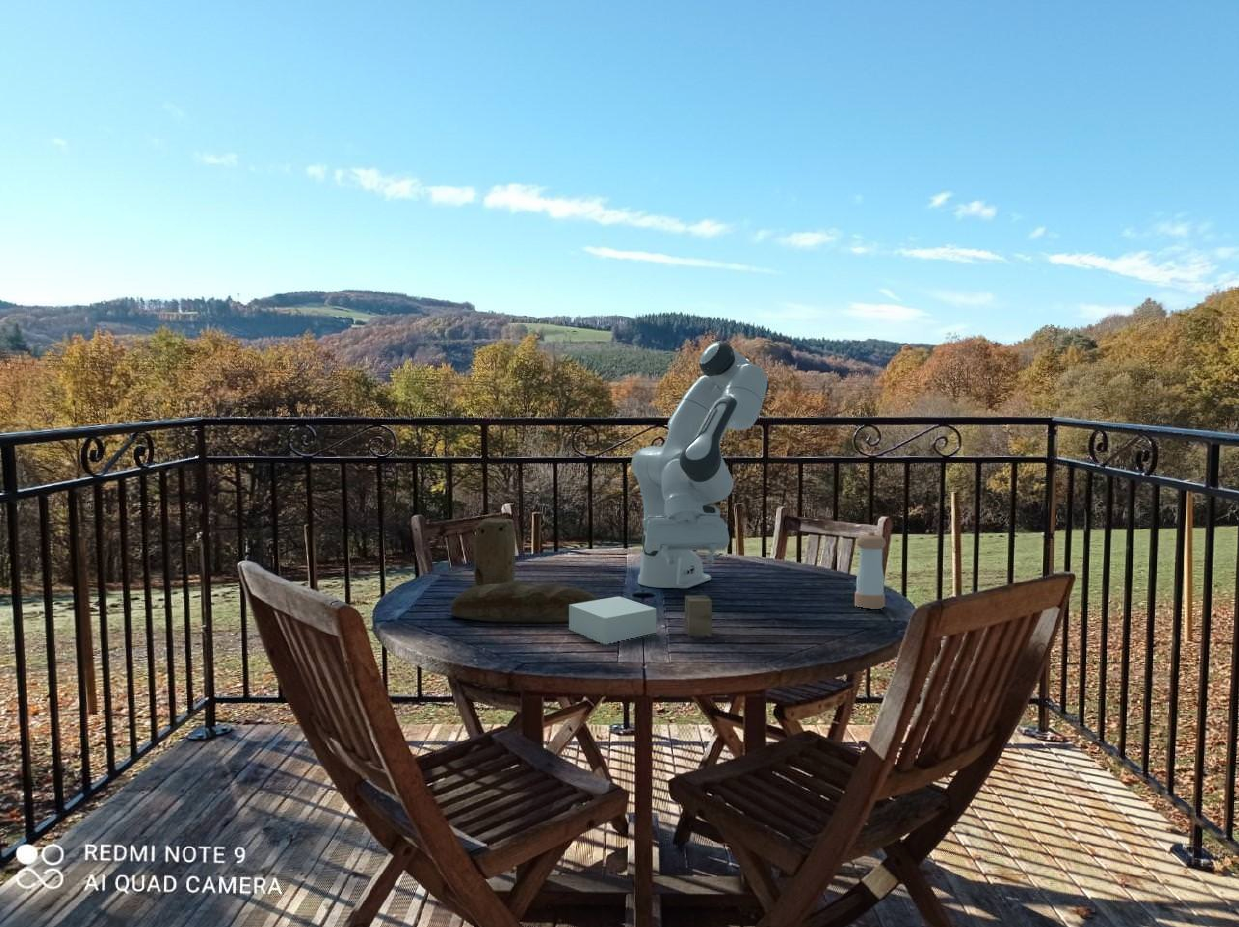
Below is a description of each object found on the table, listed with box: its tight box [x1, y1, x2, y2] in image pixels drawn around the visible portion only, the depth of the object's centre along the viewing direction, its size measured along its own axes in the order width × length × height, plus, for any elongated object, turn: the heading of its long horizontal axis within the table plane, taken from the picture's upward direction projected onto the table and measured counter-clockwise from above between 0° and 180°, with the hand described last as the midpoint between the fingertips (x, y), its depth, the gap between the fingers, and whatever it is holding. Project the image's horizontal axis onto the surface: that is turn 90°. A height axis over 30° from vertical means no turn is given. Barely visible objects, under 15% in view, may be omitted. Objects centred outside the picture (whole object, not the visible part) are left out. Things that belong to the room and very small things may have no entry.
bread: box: [449, 580, 599, 624], centre depth 189 cm, size 16×36×8 cm, turn 88°
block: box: [473, 517, 516, 587], centre depth 212 cm, size 11×8×20 cm
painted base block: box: [568, 596, 657, 645], centre depth 176 cm, size 14×14×6 cm
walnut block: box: [684, 594, 713, 637], centre depth 175 cm, size 5×5×8 cm
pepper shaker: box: [854, 530, 887, 609], centre depth 198 cm, size 7×7×19 cm
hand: (690, 563), depth 185 cm, fingers open, 8 cm apart
